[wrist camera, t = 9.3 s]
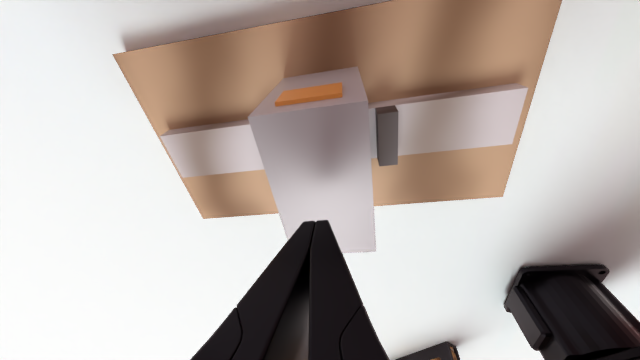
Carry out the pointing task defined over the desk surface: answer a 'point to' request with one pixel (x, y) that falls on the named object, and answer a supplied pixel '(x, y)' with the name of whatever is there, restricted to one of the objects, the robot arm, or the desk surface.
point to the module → (319, 154)
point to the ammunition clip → (435, 353)
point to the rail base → (381, 90)
